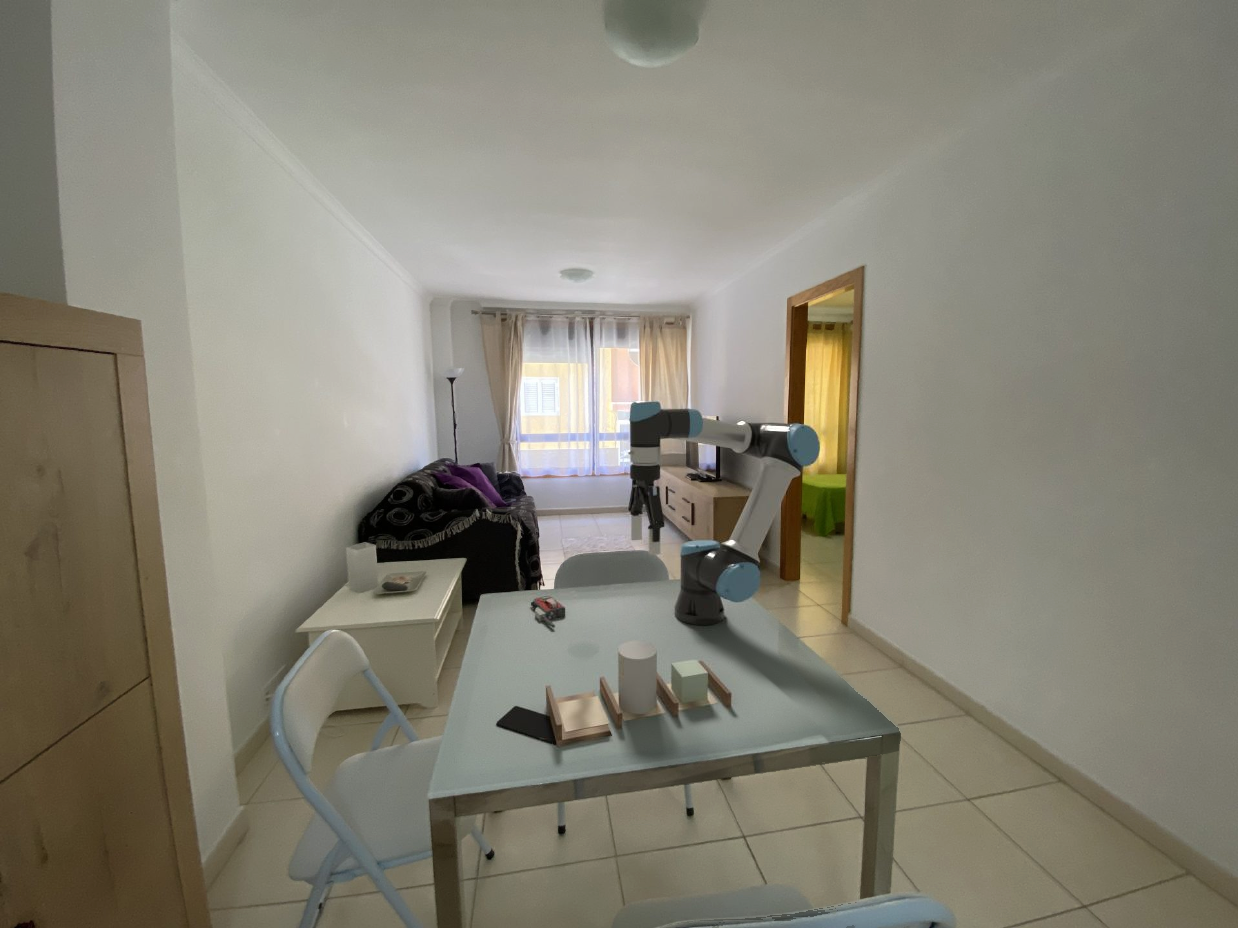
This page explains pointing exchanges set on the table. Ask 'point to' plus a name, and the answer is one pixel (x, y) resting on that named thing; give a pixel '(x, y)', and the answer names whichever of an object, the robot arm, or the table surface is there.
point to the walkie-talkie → (547, 609)
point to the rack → (615, 709)
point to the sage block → (689, 681)
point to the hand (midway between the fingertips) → (645, 546)
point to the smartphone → (528, 724)
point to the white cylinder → (637, 677)
